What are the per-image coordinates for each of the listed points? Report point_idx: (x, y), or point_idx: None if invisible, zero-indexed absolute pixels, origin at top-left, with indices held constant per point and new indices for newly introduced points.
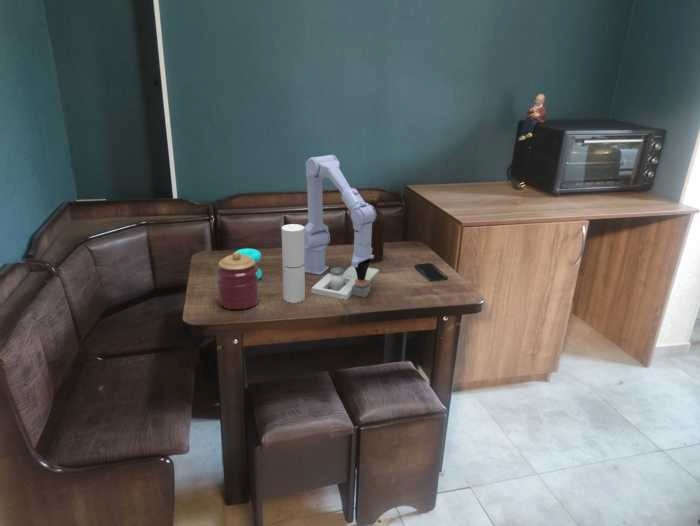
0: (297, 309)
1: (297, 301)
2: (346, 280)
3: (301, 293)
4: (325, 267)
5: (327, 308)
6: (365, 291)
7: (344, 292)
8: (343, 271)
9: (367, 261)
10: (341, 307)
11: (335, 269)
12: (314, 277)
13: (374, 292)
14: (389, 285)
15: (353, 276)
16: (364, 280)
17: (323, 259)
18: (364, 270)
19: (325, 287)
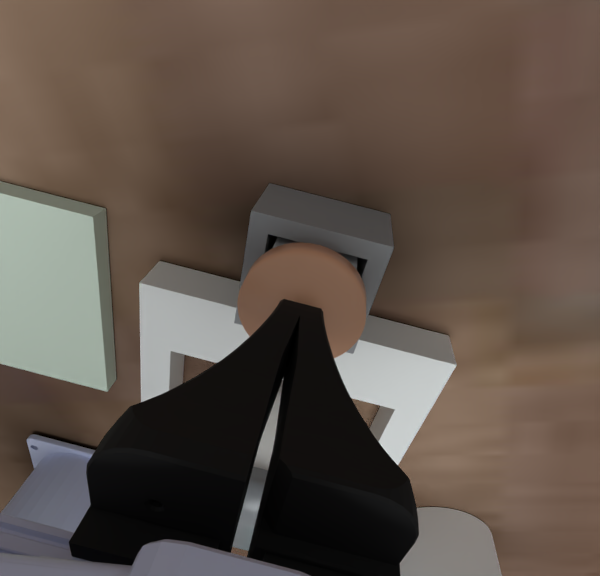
0: (570, 527)
1: (490, 535)
2: (176, 364)
3: (486, 568)
4: (48, 451)
5: (575, 423)
6: (389, 236)
7: (412, 378)
8: (258, 487)
9: (243, 492)
10: (569, 356)
11: (241, 529)
12: None
13: (269, 143)
14: (65, 2)
15: (88, 326)
16: (275, 287)
17: (46, 524)
18: (351, 405)
19: None
